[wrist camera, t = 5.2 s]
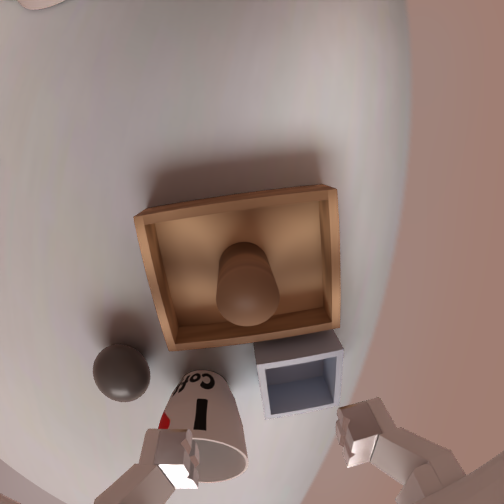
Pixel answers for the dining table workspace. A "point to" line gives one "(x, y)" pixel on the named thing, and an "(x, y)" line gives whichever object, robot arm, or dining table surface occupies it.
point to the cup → (209, 424)
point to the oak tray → (233, 231)
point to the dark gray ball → (121, 373)
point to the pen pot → (299, 373)
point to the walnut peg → (246, 285)
